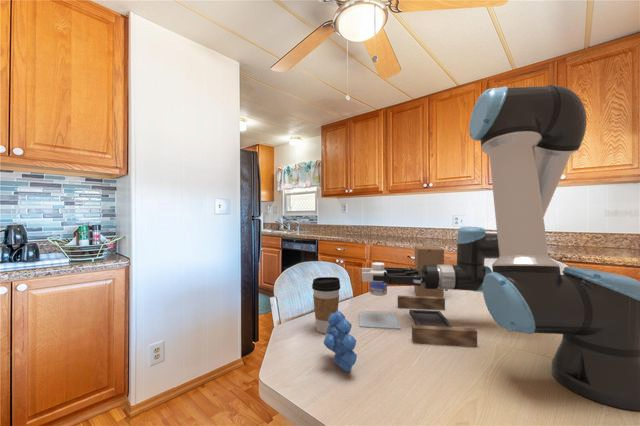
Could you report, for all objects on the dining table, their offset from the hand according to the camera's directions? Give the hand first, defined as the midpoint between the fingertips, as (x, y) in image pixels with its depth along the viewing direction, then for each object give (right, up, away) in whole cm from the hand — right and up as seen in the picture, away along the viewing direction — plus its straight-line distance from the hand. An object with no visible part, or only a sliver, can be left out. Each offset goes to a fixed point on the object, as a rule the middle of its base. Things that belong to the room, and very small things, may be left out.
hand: (361, 274), depth 93 cm
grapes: (-10, -15, -28) cm, 33 cm away
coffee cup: (-12, -15, -8) cm, 20 cm away
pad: (+5, -14, -1) cm, 15 cm away
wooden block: (+31, -14, +26) cm, 43 cm away
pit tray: (+21, -15, -3) cm, 26 cm away
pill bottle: (+5, -6, 0) cm, 8 cm away
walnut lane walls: (+21, -15, -3) cm, 26 cm away
